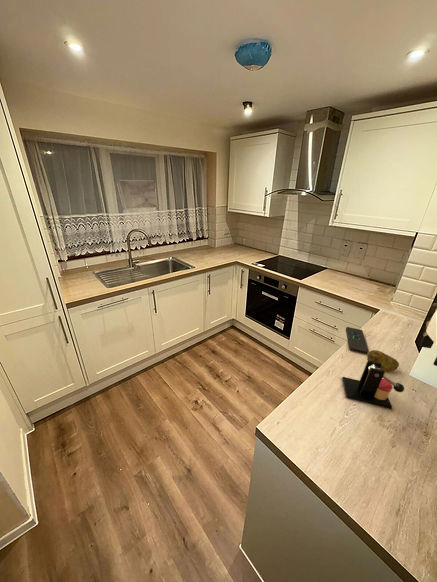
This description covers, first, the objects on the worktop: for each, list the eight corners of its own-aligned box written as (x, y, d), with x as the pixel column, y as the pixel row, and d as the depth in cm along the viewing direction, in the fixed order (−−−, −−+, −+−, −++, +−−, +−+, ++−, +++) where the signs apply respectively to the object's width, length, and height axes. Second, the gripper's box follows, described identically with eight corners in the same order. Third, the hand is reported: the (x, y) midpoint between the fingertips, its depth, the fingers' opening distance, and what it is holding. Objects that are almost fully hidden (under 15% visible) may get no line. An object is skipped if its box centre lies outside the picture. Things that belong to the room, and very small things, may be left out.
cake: (384, 390, 91) (389, 379, 89) (389, 402, 86) (394, 391, 84) (368, 386, 93) (372, 376, 90) (371, 397, 88) (376, 387, 85)
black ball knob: (396, 389, 88) (404, 384, 86) (399, 395, 85) (408, 391, 84) (366, 366, 88) (374, 362, 87) (368, 372, 85) (376, 368, 84)
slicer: (382, 388, 94) (395, 361, 88) (391, 409, 85) (405, 381, 79) (341, 378, 98) (351, 352, 92) (345, 397, 89) (356, 370, 83)
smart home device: (362, 329, 128) (369, 351, 111) (361, 332, 129) (368, 354, 112) (346, 326, 131) (349, 347, 114) (345, 328, 131) (348, 350, 114)
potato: (399, 379, 98) (406, 364, 95) (364, 369, 103) (370, 355, 100) (395, 366, 105) (401, 352, 102) (363, 357, 110) (368, 343, 106)
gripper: (489, 328, 62) (461, 377, 69) (452, 300, 77) (432, 342, 84) (454, 323, 64) (430, 371, 71) (425, 297, 79) (408, 339, 86)
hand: (431, 355), depth 78 cm, fingers open, 9 cm apart
